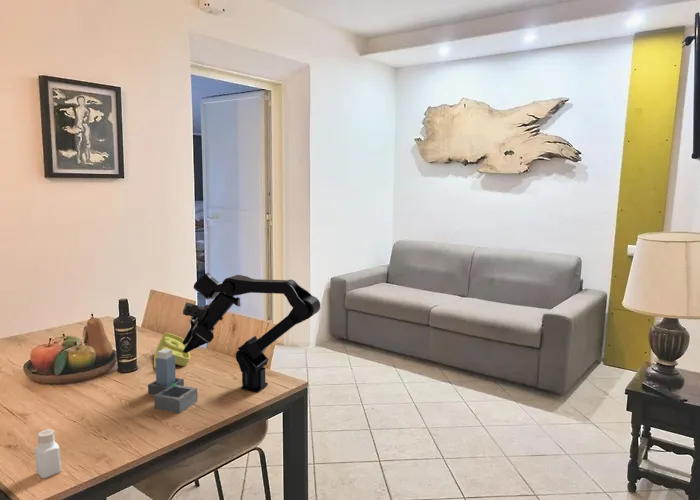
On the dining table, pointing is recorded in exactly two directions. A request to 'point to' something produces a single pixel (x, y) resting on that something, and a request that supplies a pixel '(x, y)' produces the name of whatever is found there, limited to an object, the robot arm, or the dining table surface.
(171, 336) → the plastic component
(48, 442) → the white pill bottle
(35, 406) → the dining table surface
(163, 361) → the plug
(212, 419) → the dining table surface
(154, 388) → the frame
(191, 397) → the socket block
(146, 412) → the dining table surface
